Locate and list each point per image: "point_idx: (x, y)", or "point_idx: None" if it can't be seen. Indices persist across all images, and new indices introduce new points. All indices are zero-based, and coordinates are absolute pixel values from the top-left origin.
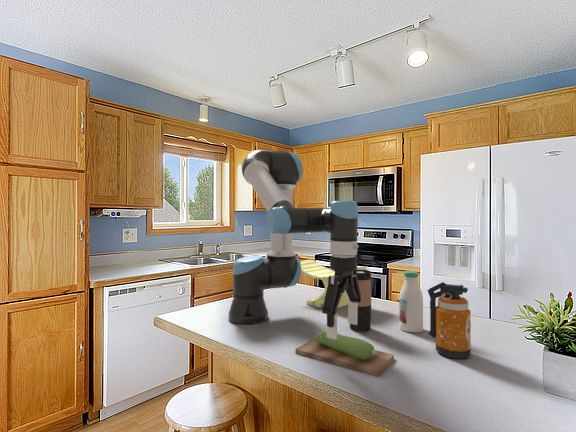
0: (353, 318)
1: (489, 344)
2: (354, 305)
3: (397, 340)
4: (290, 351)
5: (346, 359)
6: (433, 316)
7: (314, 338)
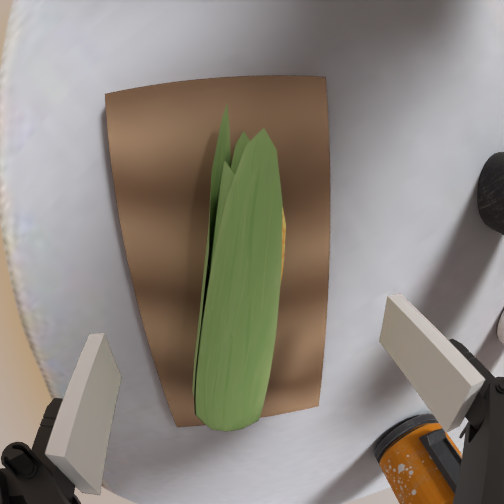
0: (398, 348)
1: (457, 432)
2: (442, 409)
3: (447, 333)
4: (112, 65)
5: (173, 336)
6: (445, 476)
7: (222, 126)
